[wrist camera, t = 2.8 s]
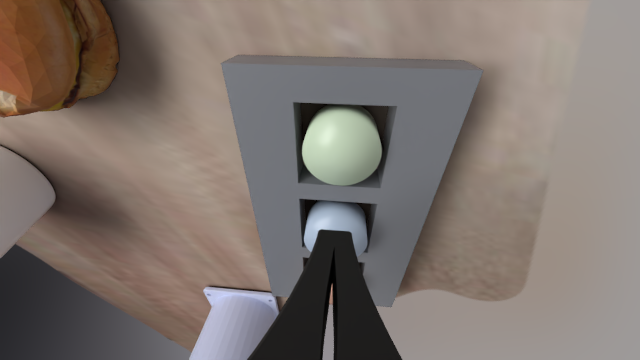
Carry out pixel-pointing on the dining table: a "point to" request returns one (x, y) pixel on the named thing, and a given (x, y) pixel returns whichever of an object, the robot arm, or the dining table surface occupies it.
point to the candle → (20, 197)
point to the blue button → (337, 222)
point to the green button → (342, 144)
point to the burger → (53, 54)
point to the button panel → (378, 189)
